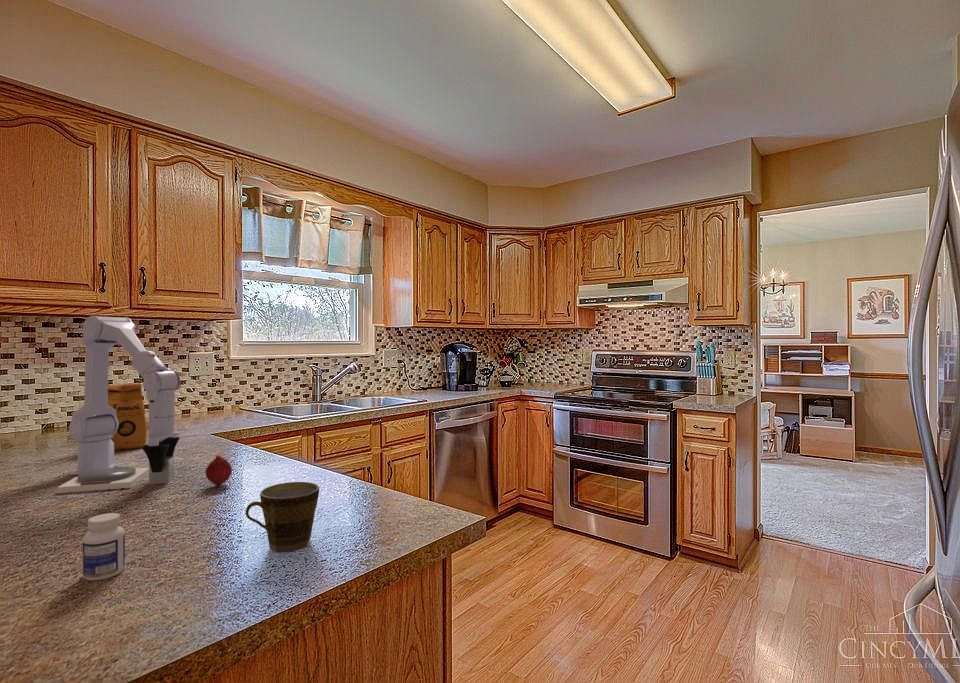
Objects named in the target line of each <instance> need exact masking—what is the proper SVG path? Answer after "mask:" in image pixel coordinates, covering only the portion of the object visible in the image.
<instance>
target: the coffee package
mask: <svg viewBox="0 0 960 683" xmlns="http://www.w3.org/2000/svg"><path fill="white" fill-rule="evenodd" d="M108 405H109V406H110V407H112V408H113V409H115V410H116V417H117V420H118V429H117V431H116V433H115V434H114V435H113V438H110V439H111V440H112V441H113V443H114V451H121V449H124V450H132V449H133V448H134V449H139V448H140V449H141V448H143V445H146V443H147V440H148V427H147V425H148V424H147V419H146V416H145V415H146V414H145V412H146V411H145V408H144V405H145V403H144V400H143V392H142V383H138V384H131V385H123V384H122V385H121V384H114V385H113V384H108Z"/></svg>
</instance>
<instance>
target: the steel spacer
mask: <svg viewBox="0 0 960 683" xmlns="http://www.w3.org/2000/svg"><path fill="white" fill-rule="evenodd" d="M174 457H175V456H174V455H173V456H168V457H165V460H164V467H163V470H162V472H155V473H152V470H151V467H150V463H149V462H148V467H149V474H148V485H160V484H161V483H162V484H169V483H170V482H172V481H173V480H174V477H175V476H174V475H175V472H174V469H175V468H174V467H175V465H174V460H175V459H174ZM172 479H173V480H172Z"/></svg>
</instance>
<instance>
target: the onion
mask: <svg viewBox="0 0 960 683" xmlns="http://www.w3.org/2000/svg"><path fill="white" fill-rule="evenodd" d="M232 469H233V468H232V465H231V464H230V462H229V461H228V460H227V459H226V458H224V457H222V456H221V454H219V453H217V454H216V456H215V458H214V459H212V460H211V461H210V463H208V465H207V466H206V469H205V477H206V478H207V480H208V481H209V482H211V483H212V484H213V485H215V486H217V487H220V486H221V485H223V484H224V483H225V482H227V481H228V480H229V478H231V475H232V473H233V472H232V471H233V470H232Z"/></svg>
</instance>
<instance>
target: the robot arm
mask: <svg viewBox="0 0 960 683" xmlns="http://www.w3.org/2000/svg"><path fill="white" fill-rule="evenodd" d="M135 332H136V325H135V323H134V322H133V321H132V319H131V318H129V317H128V316H127V317H126V316H123V317H120V316H119V317H115V316H101V315H99V316H97V315H90V316H89V317H87V319H86V320H84V322H83V323H82V344H83V345H84V346H85V362H84V363H85V364H84V365H85V366H84V392H83V393H84V396H83V398H84V402H83V405H82V406H81V407H80V408H78V409H77V410H75V411H73V412H72V413H71V420H70V423H69V427H68V431H69V435H70V437H71V438H72V439H73V440H74V442H77V469H76V470H75V471H73V472H71V473H70V476H78V475H80V474H82V473H84V472H87V471H92V470H97V469H103V468H112V467H118V466H119V464H118V463H115V450H114V443H113V441H112V440H111V439H110V438H113V435H114V434H115V433H116V431H117V429H118V420H117V417H116V410H115V409H113V408H112V407H110V406H109V405H108V385H109V366H110V364H109V363H110V362H109V361H110V360H109V359H110V350H111V349H112V348H113V347H114V346H116V345H118V344H119V345H120V346H121V347H122V348H123V349H124V350H125V351H126V353H128V354H129V356H130V357H132V359H131V364H132V365H131V366H133V367H134V370H136V371H137V372H138V374H139V375H140V376H141V378H142V379H143V382H142V385H143V386H142V387H143V388H144V390H145V395H146V396H145V397H146V400H148V433H147V440H148V444H145V445H143V447H142V451H143V452H144V453H145V455H146V458H147V459H148V464H149V463H150V467H151V470H152V473H155V472H162V470H163V467H164V460H165V457H168V456H174V453H175V449H176V448H177V447H176V446H177V445H178V443H179V440H180V438H181V437H180V434H181V432H180V431H176V424H175V422H176V419H175V418H176V410H175V409H176V400H175V399H176V395H175V394H176V391H177V390H178V389H179V388H180V385H181V377H180V374H179V373H178V371H177V370H175V369H172V368H169V367H167V366H166V365H165V364H164V363H163V362H162V361H161V359H160V358H159V357H158V356H157V354H156V353H155V351H152V350H146V348H145V347H144V345H143V344H142V342H141V341H140V339H139V338H138V336H137V334H136V333H135Z"/></svg>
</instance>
